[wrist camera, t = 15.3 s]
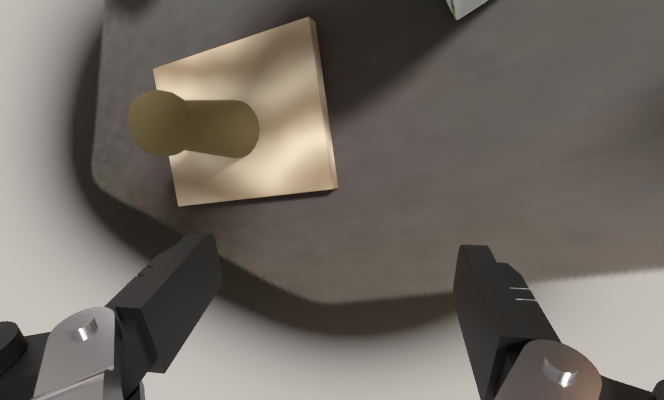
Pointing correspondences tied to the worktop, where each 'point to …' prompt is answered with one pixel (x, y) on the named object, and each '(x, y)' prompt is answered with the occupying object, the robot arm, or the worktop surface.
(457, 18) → the syrup box
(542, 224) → the worktop surface
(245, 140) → the cork
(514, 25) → the worktop surface
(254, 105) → the birch board
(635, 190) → the worktop surface
